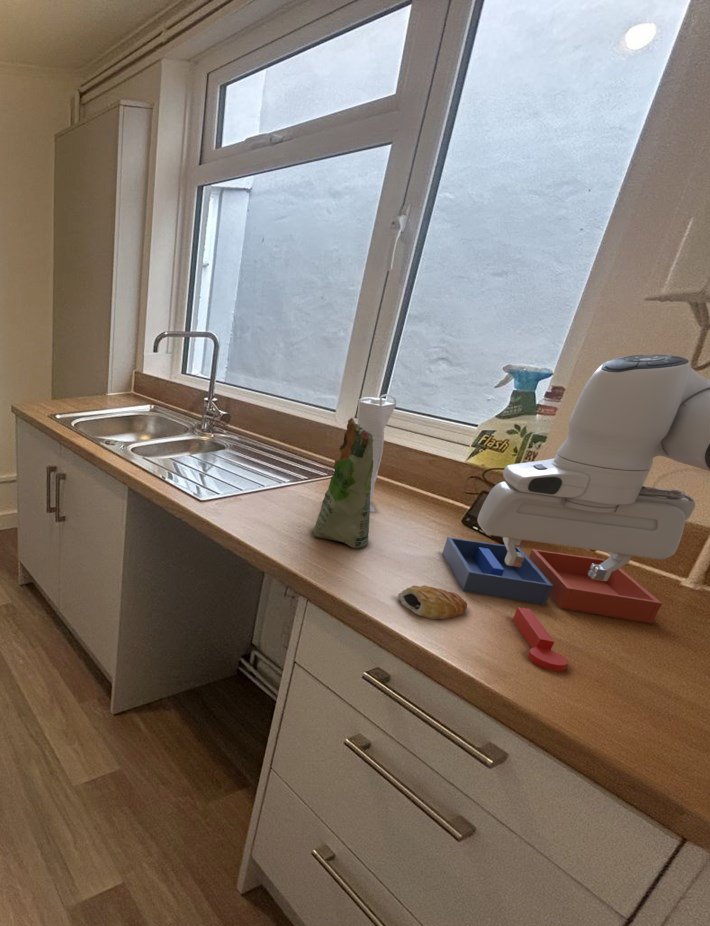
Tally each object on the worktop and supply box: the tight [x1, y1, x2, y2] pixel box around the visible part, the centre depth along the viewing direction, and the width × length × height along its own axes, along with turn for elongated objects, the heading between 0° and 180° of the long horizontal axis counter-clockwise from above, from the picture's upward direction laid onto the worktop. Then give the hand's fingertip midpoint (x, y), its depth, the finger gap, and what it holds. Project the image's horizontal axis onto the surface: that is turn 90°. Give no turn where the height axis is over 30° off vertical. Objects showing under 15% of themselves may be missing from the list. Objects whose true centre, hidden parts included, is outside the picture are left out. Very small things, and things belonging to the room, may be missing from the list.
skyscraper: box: [357, 393, 397, 513], centre depth 122 cm, size 8×8×28 cm
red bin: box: [528, 548, 663, 624], centre depth 90 cm, size 11×15×4 cm
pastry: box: [397, 584, 468, 620], centre depth 86 cm, size 9×7×4 cm
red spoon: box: [512, 606, 569, 672], centre depth 77 cm, size 4×13×3 cm, turn 156°
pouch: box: [312, 417, 374, 550], centre depth 107 cm, size 11×12×25 cm
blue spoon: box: [474, 547, 504, 576], centre depth 95 cm, size 4×13×3 cm, turn 155°
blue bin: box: [441, 536, 553, 606], centre depth 95 cm, size 11×15×4 cm
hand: (553, 571), depth 75 cm, fingers open, 8 cm apart
